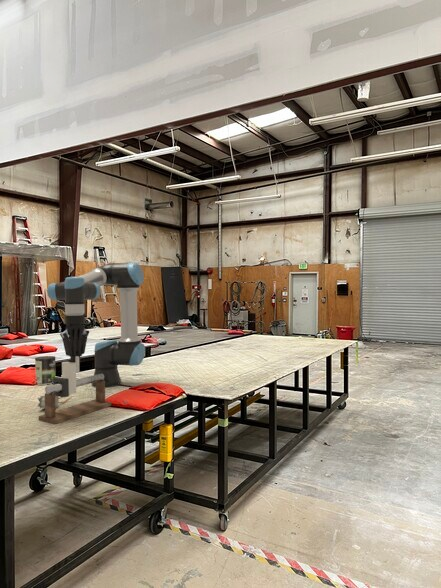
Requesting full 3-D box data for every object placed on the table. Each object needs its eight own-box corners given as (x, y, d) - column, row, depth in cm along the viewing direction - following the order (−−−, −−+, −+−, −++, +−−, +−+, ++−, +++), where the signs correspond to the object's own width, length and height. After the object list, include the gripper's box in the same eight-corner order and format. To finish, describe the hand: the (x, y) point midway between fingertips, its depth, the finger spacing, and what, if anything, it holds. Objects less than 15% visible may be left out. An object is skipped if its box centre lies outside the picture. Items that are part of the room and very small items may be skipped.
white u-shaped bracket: (66, 391, 164) (66, 361, 164) (76, 392, 161) (75, 362, 160) (58, 393, 160) (57, 363, 160) (67, 395, 157) (67, 364, 157)
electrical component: (60, 404, 189) (61, 393, 190) (73, 404, 189) (74, 393, 190) (37, 408, 166) (38, 396, 167) (51, 408, 166) (52, 396, 167)
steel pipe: (99, 380, 177) (99, 372, 177) (104, 381, 175) (104, 373, 175) (44, 394, 154) (44, 385, 154) (50, 395, 152) (50, 386, 152)
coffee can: (58, 380, 224) (58, 355, 224) (50, 385, 214) (50, 358, 214) (40, 381, 225) (40, 356, 225) (31, 385, 214) (31, 359, 214)
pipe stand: (95, 402, 179) (95, 379, 179) (111, 405, 174) (111, 381, 174) (38, 419, 155) (38, 392, 155) (55, 424, 150) (54, 396, 150)
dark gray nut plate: (57, 394, 160) (57, 376, 160) (68, 396, 157) (68, 378, 157) (53, 395, 159) (53, 377, 159) (64, 397, 155) (64, 379, 155)
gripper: (81, 313, 171) (82, 368, 171) (55, 315, 160) (55, 374, 160) (93, 314, 167) (94, 370, 168) (67, 315, 156) (68, 376, 156)
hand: (75, 372), depth 164 cm, fingers closed
